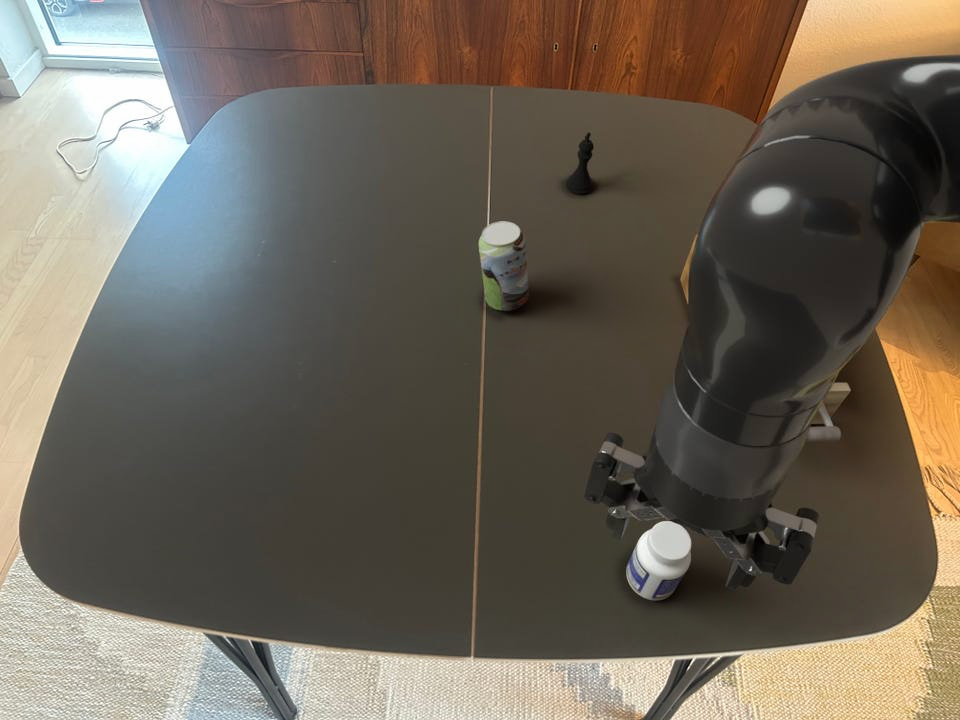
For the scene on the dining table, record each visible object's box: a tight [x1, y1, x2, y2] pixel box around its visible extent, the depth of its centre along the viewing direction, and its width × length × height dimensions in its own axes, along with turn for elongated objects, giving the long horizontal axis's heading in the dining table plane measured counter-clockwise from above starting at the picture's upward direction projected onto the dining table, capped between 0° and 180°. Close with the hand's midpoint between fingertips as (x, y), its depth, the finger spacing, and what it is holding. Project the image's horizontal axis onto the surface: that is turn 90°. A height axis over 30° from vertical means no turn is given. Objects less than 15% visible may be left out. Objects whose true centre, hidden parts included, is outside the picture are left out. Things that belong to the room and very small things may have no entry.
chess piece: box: [565, 132, 595, 196], centre depth 111 cm, size 4×4×10 cm
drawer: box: [805, 382, 852, 442], centre depth 86 cm, size 20×11×7 cm, turn 3°
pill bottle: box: [625, 520, 692, 601], centre depth 71 cm, size 5×5×9 cm
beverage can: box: [478, 220, 530, 312], centre depth 94 cm, size 6×7×12 cm
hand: (676, 552), depth 52 cm, fingers open, 8 cm apart
